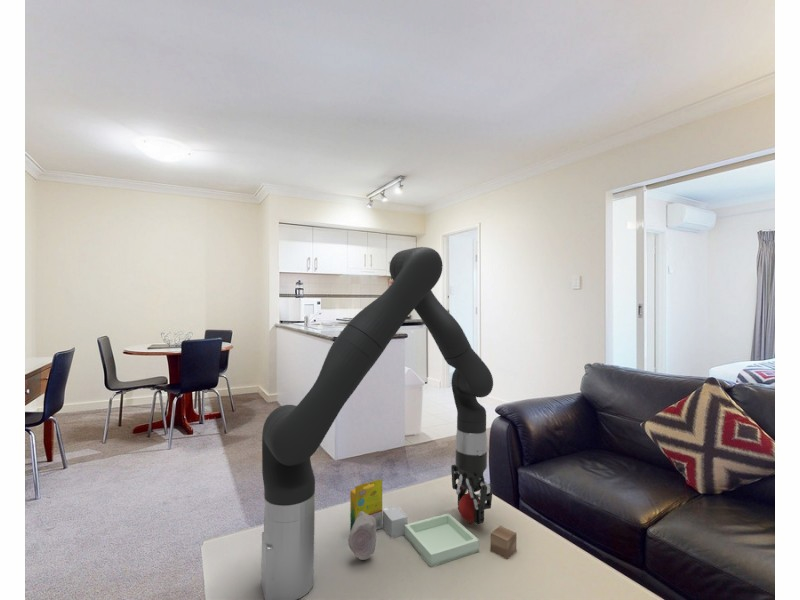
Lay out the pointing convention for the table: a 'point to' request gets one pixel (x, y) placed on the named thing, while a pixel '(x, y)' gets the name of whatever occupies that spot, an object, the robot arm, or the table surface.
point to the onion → (467, 507)
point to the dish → (441, 539)
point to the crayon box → (367, 502)
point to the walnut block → (503, 542)
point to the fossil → (363, 536)
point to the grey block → (394, 521)
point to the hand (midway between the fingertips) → (470, 516)
